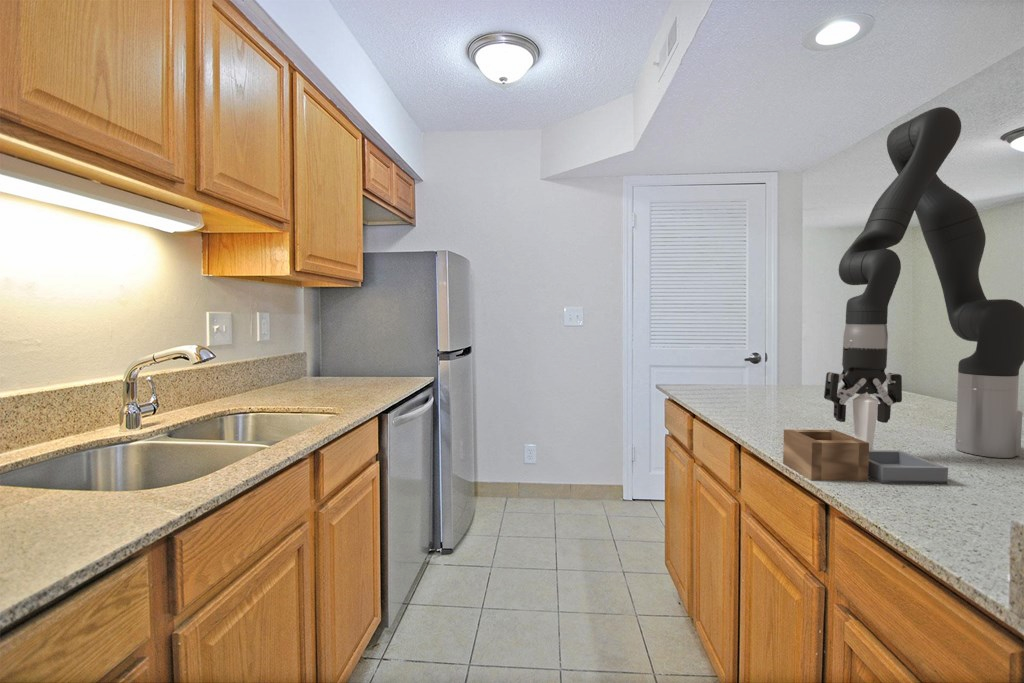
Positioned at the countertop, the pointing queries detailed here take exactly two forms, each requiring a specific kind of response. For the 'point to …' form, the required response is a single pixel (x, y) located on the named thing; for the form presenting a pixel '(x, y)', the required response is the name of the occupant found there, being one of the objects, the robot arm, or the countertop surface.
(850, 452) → the wooden cubby box
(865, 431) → the perfume bottle
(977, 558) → the countertop surface
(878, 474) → the tray
